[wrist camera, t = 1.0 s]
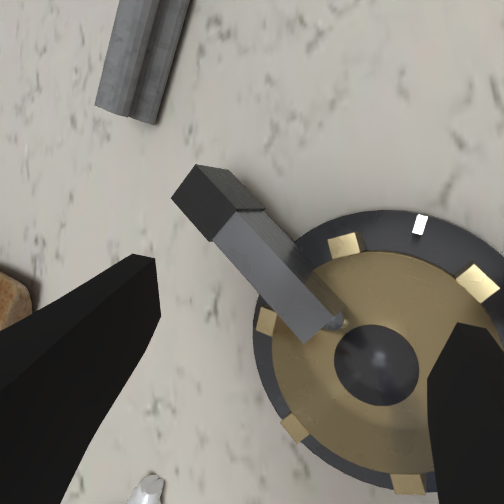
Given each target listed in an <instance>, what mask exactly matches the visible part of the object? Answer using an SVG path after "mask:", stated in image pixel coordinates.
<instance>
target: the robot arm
mask: <svg viewBox="0 0 504 504" xmlns="http://www.w3.org/2000/svg"><path fill="white" fill-rule="evenodd" d="M160 318H161V310H160V300H159V291H158V282H157V272H156V263H155V258H151V257H146V256H141V255H136V254H131V255H130V256H128V257H126V258H124V259H123V260H121V261H119V262H118V263H116V264H115V265H113V266H111V267H110V268H108V269H107V270H105V271H103V272H102V273H100V274H99V275H97V276H95V277H94V278H92V279H91V280H89V281H87V282H86V283H84V284H82V285H81V286H79V287H77V288H76V289H74V290H72V291H71V292H69V293H68V294H66V295H64V296H63V297H61V298H59V299H58V300H56V301H54V302H52V303H51V304H49V305H47V306H45V307H43V308H42V309H40V310H38V311H36V312H34V313H33V314H31V315H29V316H27V317H25V318H23V319H22V320H20V321H18V322H16V323H14V324H13V325H11V326H9V327H7V328H5V329H3V330H1V331H0V504H60V503H61V501H62V499H63V497H64V495H65V492H66V490H67V488H68V486H69V484H70V482H71V480H72V478H73V476H74V474H75V472H76V470H77V468H78V466H79V464H80V462H81V460H82V458H83V456H84V454H85V451H86V449H87V447H88V445H89V444H90V442H91V440H92V438H93V437H94V435H95V433H96V431H97V429H98V428H99V426H100V424H101V423H102V421H103V420H104V418H105V416H106V415H107V413H108V411H109V410H110V408H111V407H112V405H113V403H114V402H115V400H116V398H117V397H118V395H119V394H120V392H121V390H122V389H123V387H124V386H125V384H126V382H127V381H128V379H129V377H130V376H131V374H132V372H133V371H134V369H135V368H136V366H137V364H138V363H139V361H140V359H141V358H142V356H143V354H144V353H145V351H146V349H147V347H148V344H149V342H150V340H151V338H152V336H153V334H154V331H155V329H156V327H157V324H158V322H159V320H160ZM427 418H428V428H429V436H430V443H431V450H432V458H433V464H434V471H435V478H436V485H437V492H438V499H439V504H504V351H503V350H502V349H501V347H500V346H499V345H498V343H497V342H496V340H495V339H494V338H493V336H492V335H491V334H490V332H489V331H488V330H487V328H483V327H478V326H473V325H468V324H464V323H459V322H457V323H456V325H455V327H454V329H453V331H452V333H451V335H450V336H449V338H448V340H447V342H446V344H445V346H444V348H443V349H442V351H441V353H440V355H439V357H438V359H437V361H436V363H435V364H434V366H433V368H432V370H431V372H430V374H429V376H428V378H427Z"/></svg>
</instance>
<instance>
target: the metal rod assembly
mask: <svg viewBox="0 0 504 504" xmlns="http://www.w3.org/2000/svg"><path fill="white" fill-rule="evenodd" d="M189 2H190V0H120V1H119V5H118V9H117V13H116V17H115V21H114V26H113V30H112V34H111V38H110V42H109V46H108V51H107V55H106V59H105V63H104V67H103V71H102V76H101V80H100V84H99V88H98V92H97V96H96V101H95V106H98V107H100V108H102V109H104V110H107V111H109V112H111V113H114V114H117V115H120V116H124V117H128V116H129V117H131V118H133V119H136V120H139V121H142V122H146V123H149V124H152V125H154V124H155V121H156V117H157V114H158V110H159V107H160V103H161V100H162V96H163V93H164V89H165V86H166V82H167V79H168V75H169V72H170V68H171V65H172V61H173V58H174V54H175V51H176V47H177V44H178V40H179V37H180V33H181V30H182V26H183V23H184V19H185V16H186V12H187V9H188V5H189Z"/></svg>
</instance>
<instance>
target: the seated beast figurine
mask: <svg viewBox="0 0 504 504" xmlns="http://www.w3.org/2000/svg"><path fill="white" fill-rule="evenodd" d="M163 481H164V479H162V478H161V479H159V476H158V475H149V476H147V477H145V478H144V479H143V480H142V481H141V482H140V483H139V485H138V487H135V488H134V489H133V490H132V494H131V497H130V499H129V500H128V501H127V504H162V503H161V502H160V496H161V493H162V488H163Z"/></svg>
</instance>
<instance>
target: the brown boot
mask: <svg viewBox="0 0 504 504" xmlns="http://www.w3.org/2000/svg"><path fill="white" fill-rule="evenodd" d="M31 314H32V303H31V299H30V293H29V291H28V289H27V288H26V287H25V286H24V285H23V284H22V283H20V282H18V281H17V280H15V279H13V278H11V277H9V276H8V275H6V274H4V273H2V272H0V331H1V330H3V329H5V328H7V327H9V326H11V325H13V324H14V323H16V322H18V321H20V320H22V319H23V318H25V317H27V316H29V315H31Z"/></svg>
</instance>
